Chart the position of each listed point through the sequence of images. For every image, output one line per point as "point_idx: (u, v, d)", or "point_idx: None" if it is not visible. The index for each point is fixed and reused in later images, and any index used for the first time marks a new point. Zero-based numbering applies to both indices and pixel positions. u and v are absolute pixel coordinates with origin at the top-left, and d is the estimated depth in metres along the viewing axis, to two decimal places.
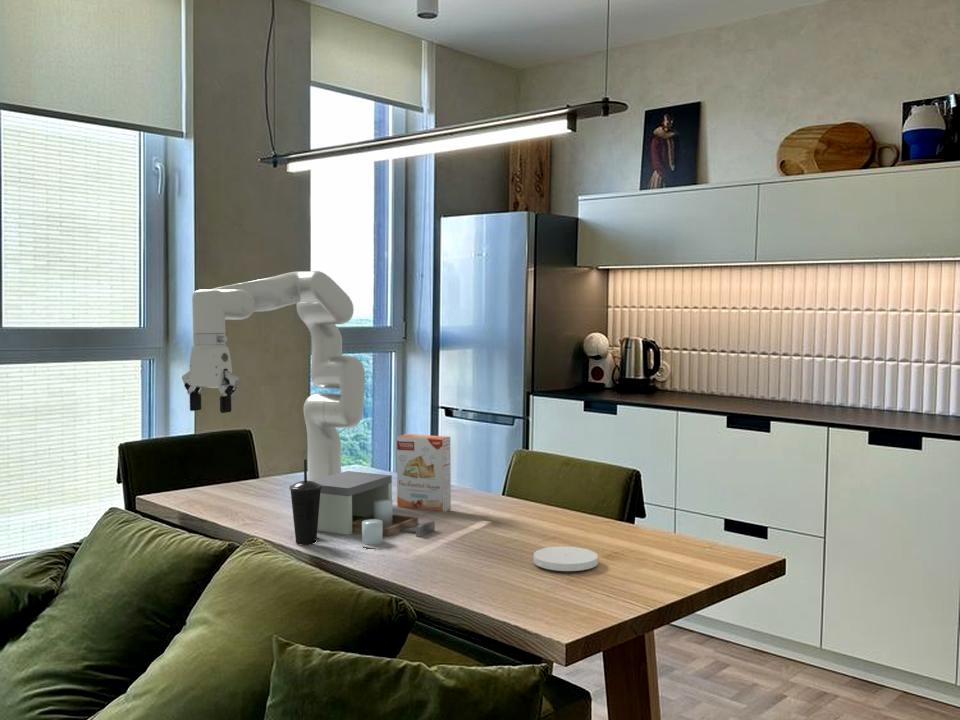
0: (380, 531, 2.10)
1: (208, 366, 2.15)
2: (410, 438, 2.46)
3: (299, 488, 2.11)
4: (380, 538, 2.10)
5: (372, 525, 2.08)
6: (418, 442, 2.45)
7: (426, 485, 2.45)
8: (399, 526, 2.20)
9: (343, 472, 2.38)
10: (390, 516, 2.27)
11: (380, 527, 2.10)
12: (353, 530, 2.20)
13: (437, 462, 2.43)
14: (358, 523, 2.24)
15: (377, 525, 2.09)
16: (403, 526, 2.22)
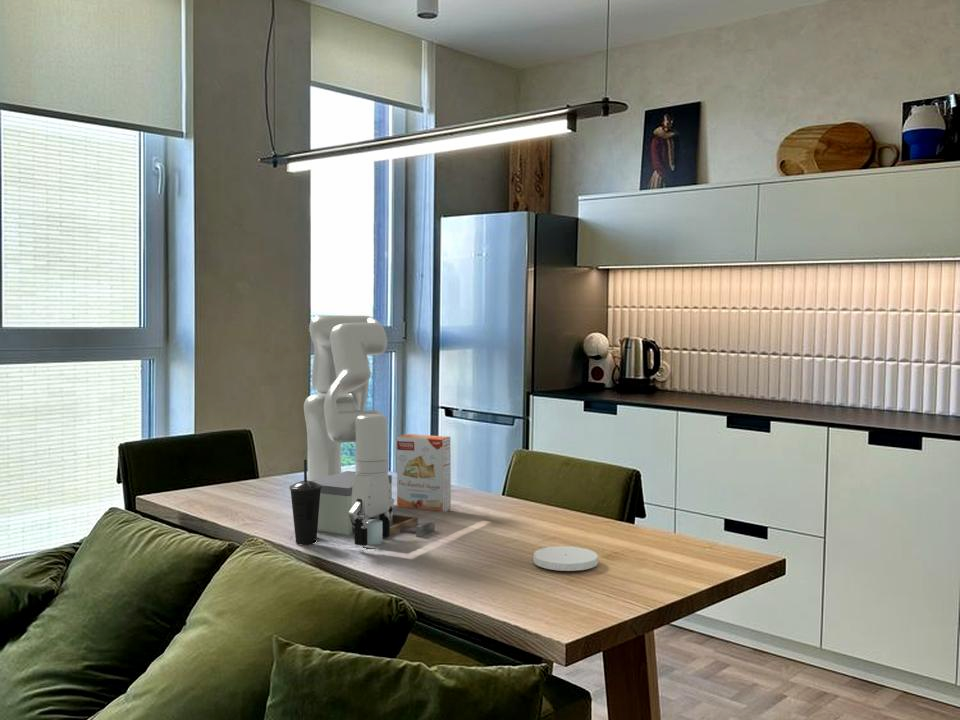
0: (380, 531, 2.10)
1: (385, 492, 2.11)
2: (410, 438, 2.46)
3: (299, 488, 2.11)
4: (380, 538, 2.10)
5: (372, 525, 2.08)
6: (418, 442, 2.45)
7: (426, 485, 2.45)
8: (399, 526, 2.20)
9: (343, 472, 2.38)
10: None
11: (380, 527, 2.10)
12: (353, 530, 2.20)
13: (437, 462, 2.43)
14: None
15: (377, 525, 2.09)
16: (403, 526, 2.22)
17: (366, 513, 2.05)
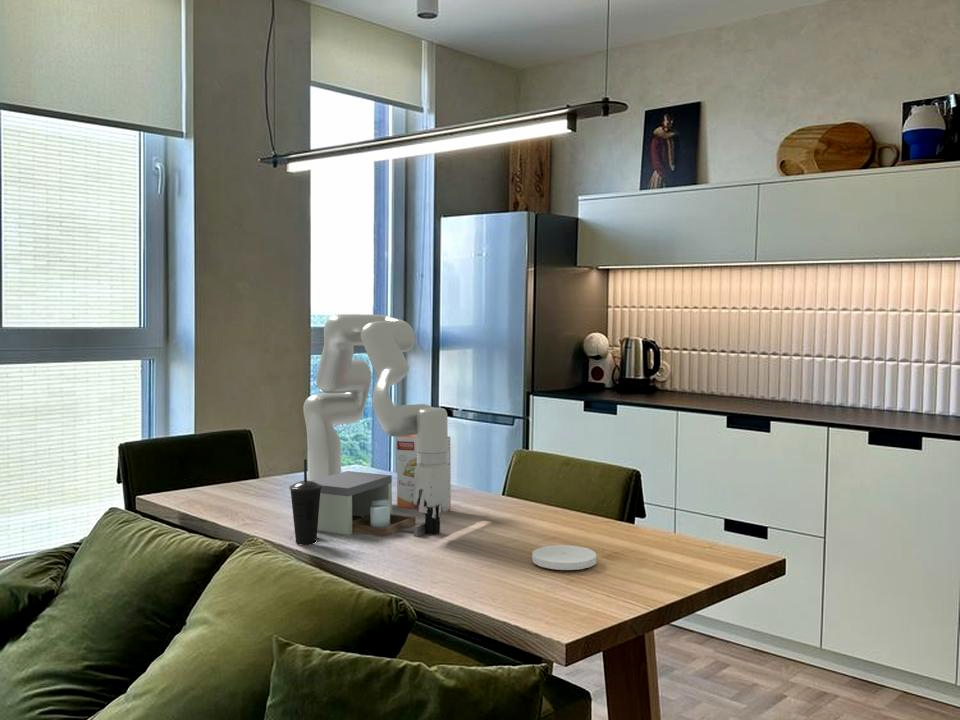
0: (388, 516, 2.20)
1: (444, 482, 2.19)
2: (410, 438, 2.46)
3: (299, 488, 2.11)
4: (388, 523, 2.20)
5: (381, 510, 2.19)
6: None
7: None
8: (396, 525, 2.21)
9: (343, 472, 2.38)
10: None
11: (388, 512, 2.20)
12: None
13: None
14: (356, 523, 2.25)
15: (385, 510, 2.19)
16: (401, 526, 2.22)
17: (428, 503, 2.14)
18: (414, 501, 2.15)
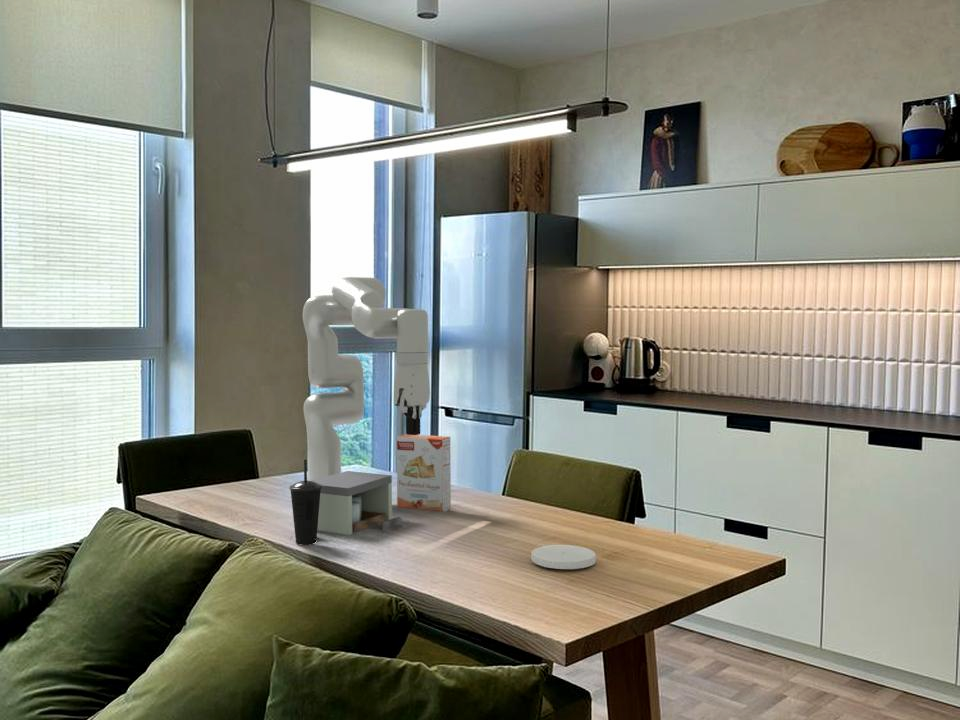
0: (358, 512, 2.24)
1: (425, 384, 2.20)
2: (410, 438, 2.46)
3: (299, 488, 2.11)
4: (358, 519, 2.24)
5: None
6: (418, 442, 2.45)
7: (426, 485, 2.45)
8: (366, 521, 2.25)
9: (343, 472, 2.38)
10: None
11: (358, 508, 2.24)
12: None
13: (436, 462, 2.43)
14: None
15: (355, 506, 2.23)
16: (371, 522, 2.26)
17: (408, 401, 2.15)
18: (394, 400, 2.16)
